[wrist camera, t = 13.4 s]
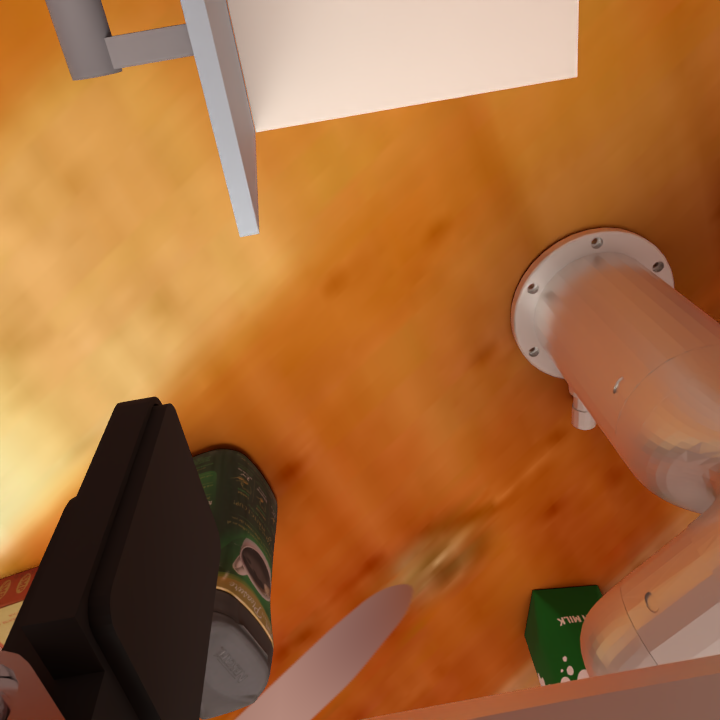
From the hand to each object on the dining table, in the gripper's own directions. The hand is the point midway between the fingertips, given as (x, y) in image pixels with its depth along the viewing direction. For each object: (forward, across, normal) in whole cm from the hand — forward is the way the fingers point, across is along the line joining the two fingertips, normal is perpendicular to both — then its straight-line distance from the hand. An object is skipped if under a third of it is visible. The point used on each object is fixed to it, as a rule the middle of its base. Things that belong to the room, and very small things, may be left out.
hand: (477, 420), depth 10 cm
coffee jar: (+36, +15, +30) cm, 50 cm away
